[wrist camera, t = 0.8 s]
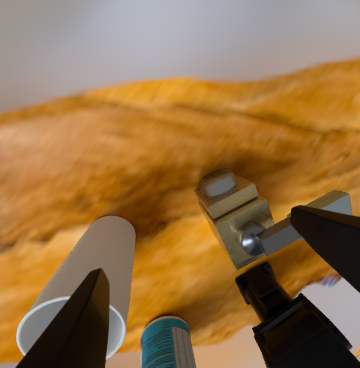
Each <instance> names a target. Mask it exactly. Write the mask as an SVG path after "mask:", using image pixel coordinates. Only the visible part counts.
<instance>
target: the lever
mask: <svg viewBox="0 0 360 368" xmlns="http://www.w3.org/2000/svg"><path fill="white" fill-rule="evenodd" d="M305 206H308V207H313V208H318V209H323V210H328V211H333V212H337V213H342V214H347V215H351V214H352V213H351V204H350V197H349V194H348V193H345V192H342V191H337V190H333V191H331V192H329V193H327V194H325V195H324V196H322V197H320V198H318V199H316V200H314V201H312V202H310V203H309V204H307V205H305ZM290 216H291V213H290V214H288V215H287V217H288V218H286V219H284V220H282V221H280V222H278V223H276V224H275V225H273V226H271V227H269V228H267V229H266V228H265V227H264V226H262V225H261V224H260V223H257V222H252V223H248V224H246V225H245V226H243V227H242V228H241V230H240V231H239V233H238V236H237V241H238V243H239V245H240V246H241V247H242V249H243V250H244V251H245V252H246V253H247V254H248V255H251V256H258V255H261V254H263V253H265V254H266V255H267V256H268V255H270V254H272V253H274V252H276V251H278V250H279V249H281V248H283V247H285V246H287V245H289V244H290V243H292V242H294V241H296V240H298V239H301V240H304V239H303V238H302V236H301V235H300V234H299V233H298V232H297V231H296V230H295V229H294V228H293V227H292V225H291V223H290Z"/></svg>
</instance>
